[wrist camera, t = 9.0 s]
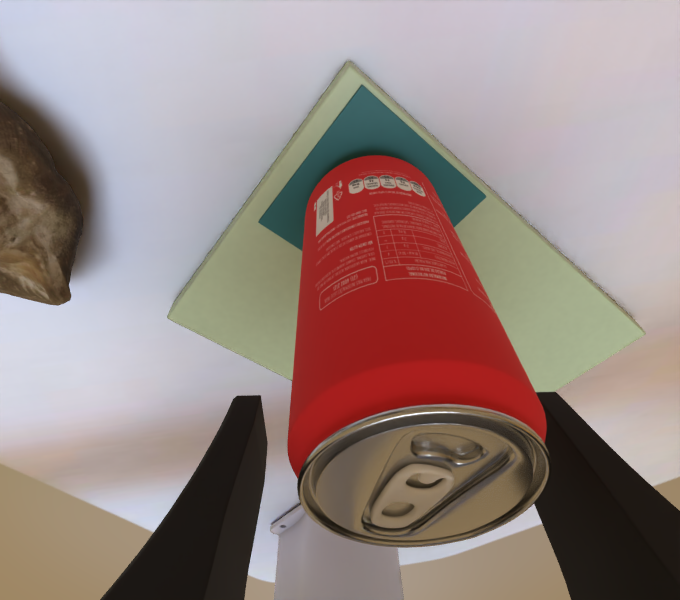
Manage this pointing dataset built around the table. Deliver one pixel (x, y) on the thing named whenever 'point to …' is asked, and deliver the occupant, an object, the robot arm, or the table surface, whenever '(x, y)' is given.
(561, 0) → the table surface
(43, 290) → the brown rock
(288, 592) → the robot arm
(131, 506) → the table surface
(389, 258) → the beverage can
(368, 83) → the board
